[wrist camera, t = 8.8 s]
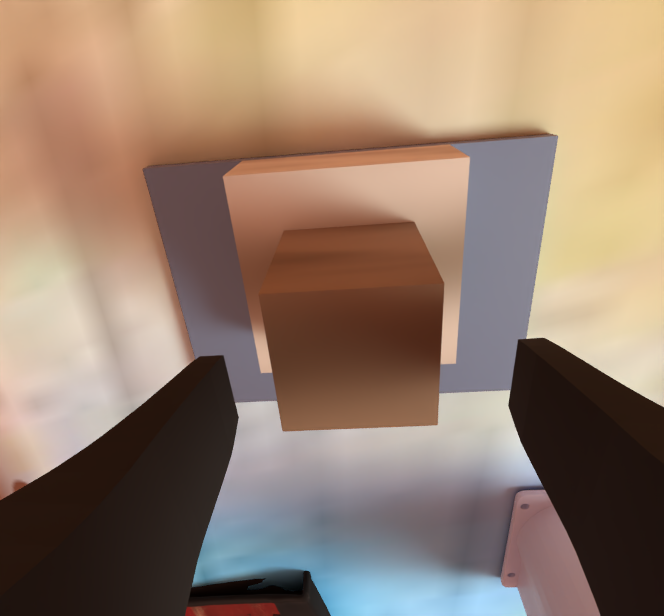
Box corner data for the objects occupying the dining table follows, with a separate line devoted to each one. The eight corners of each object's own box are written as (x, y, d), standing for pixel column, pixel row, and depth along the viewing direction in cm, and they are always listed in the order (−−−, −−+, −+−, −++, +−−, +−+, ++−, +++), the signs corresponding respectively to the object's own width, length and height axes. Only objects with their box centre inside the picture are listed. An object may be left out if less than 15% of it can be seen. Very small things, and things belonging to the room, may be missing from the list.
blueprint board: (513, 382, 22) (542, 432, 19) (210, 396, 23) (189, 446, 20) (551, 133, 17) (600, 147, 13) (148, 166, 17) (105, 185, 14)
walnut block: (412, 333, 17) (437, 425, 12) (298, 339, 17) (282, 431, 13) (414, 221, 15) (444, 283, 10) (283, 230, 15) (258, 294, 10)
